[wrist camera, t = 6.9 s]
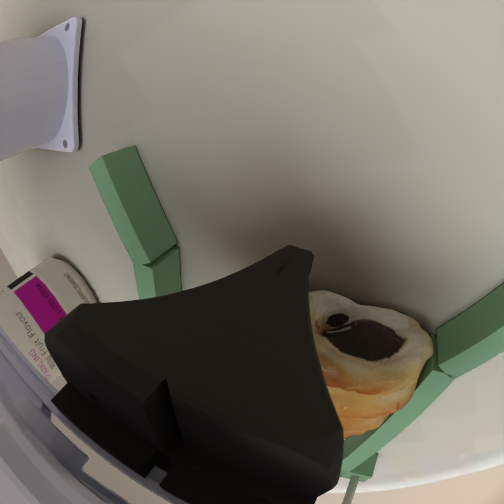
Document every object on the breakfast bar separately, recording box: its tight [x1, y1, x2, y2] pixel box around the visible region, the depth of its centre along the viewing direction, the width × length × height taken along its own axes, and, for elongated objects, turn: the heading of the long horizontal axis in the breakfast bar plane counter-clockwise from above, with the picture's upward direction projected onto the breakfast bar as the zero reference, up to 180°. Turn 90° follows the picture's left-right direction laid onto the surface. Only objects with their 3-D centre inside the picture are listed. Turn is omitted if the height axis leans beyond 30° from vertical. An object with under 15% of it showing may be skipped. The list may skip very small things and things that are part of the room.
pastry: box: [309, 290, 433, 438], centre depth 12 cm, size 9×7×4 cm
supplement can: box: [0, 257, 97, 383], centre depth 16 cm, size 8×8×15 cm
